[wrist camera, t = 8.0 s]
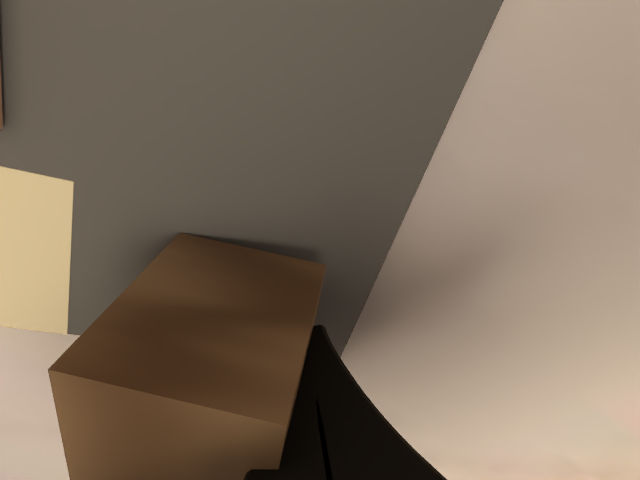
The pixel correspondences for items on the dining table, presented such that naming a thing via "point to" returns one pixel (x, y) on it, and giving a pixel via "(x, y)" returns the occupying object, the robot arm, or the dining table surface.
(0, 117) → the tile
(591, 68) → the dining table surface
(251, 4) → the mat
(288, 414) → the block
